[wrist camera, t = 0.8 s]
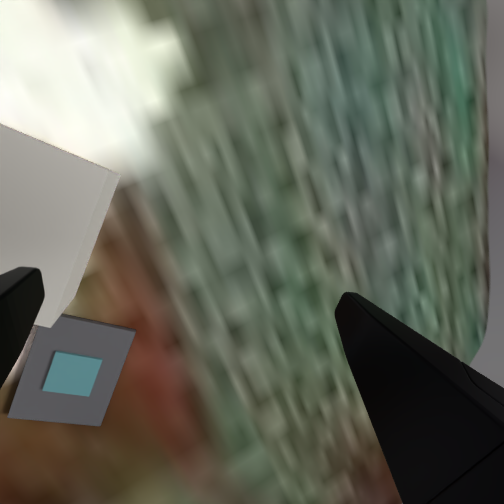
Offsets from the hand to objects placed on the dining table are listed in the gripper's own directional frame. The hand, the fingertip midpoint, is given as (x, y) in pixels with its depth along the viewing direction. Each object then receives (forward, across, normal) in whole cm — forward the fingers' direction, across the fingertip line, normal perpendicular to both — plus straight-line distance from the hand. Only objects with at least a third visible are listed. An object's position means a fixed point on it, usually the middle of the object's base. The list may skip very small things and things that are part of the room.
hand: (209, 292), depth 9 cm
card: (+8, +7, +15) cm, 18 cm away
